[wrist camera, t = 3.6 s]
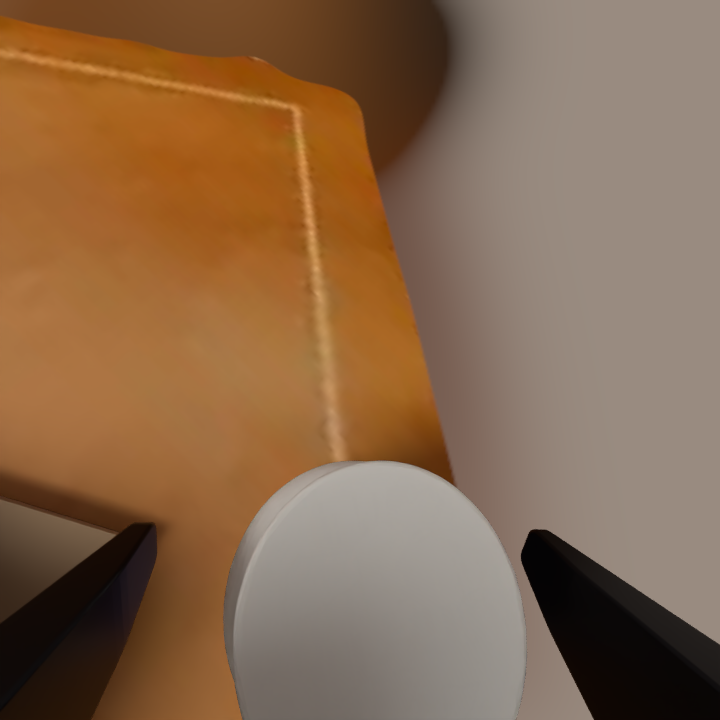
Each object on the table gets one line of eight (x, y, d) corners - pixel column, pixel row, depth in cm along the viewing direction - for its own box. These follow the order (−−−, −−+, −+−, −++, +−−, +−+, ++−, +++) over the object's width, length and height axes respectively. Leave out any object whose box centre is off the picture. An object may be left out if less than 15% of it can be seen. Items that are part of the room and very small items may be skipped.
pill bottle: (300, 464, 16) (328, 375, 7) (410, 530, 15) (587, 527, 7) (215, 603, 13) (80, 755, 4) (349, 687, 12) (515, 1045, 4)
